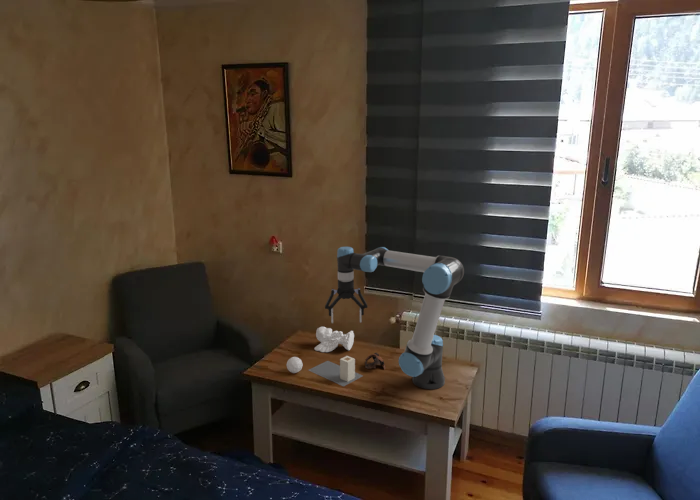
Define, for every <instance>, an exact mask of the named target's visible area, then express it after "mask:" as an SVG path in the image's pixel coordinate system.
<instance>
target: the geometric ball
mask: <svg viewBox="0 0 700 500" xmlns="http://www.w3.org/2000/svg"><path fill="white" fill-rule="evenodd" d="M285 366H286V368H287V371H289V372H290V373H291V374H296V373H298V372H300V371H301V370H302V368H303V361H302V359H301V358H299V357H298V356H292V357H290V358H289V359H288V360H287V362H286V365H285Z"/></svg>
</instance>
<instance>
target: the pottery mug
mask: <svg viewBox="0 0 700 500" xmlns="http://www.w3.org/2000/svg"><path fill="white" fill-rule="evenodd" d="M370 359H373V362H371V363H368V361H369V360H370ZM364 360H365V361H364V364H365V369H376V366H381V367H382V368H383V370H386V365H385V362H384V359H383V358H382V357H381V356H380V355H379V353H378V352H374V353H372V354H369V355H368V356H367V357H366V358H364Z"/></svg>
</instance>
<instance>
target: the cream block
mask: <svg viewBox="0 0 700 500" xmlns="http://www.w3.org/2000/svg"><path fill="white" fill-rule="evenodd" d="M339 366H340V379H342V380H345V381H347V382H349V381H350V380H352V379H354V378H355V372H356V359H355V358H354V357H351V356H349V355H345V356H344V357H341V358H339Z"/></svg>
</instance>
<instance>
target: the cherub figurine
mask: <svg viewBox="0 0 700 500" xmlns="http://www.w3.org/2000/svg"><path fill="white" fill-rule="evenodd" d="M315 336H316V337H315V338H316V339H317V341H319V342H320V343H319V344H318V345H316V346H315V347H314V350H315V351H316V352H321V353H331V352H333V350H335V349H336V348H338V346H339V345H341V346H343V347H344V349H345V350H347V351H350V350H351V349H352V348H353V345H354V342H355V341H354V340H355V339H354V338H355V333H354V330H350V331H349V332H347V333H343V331H341V330H340V331H338V330H334V331H333V329H332V328H331V327H325V326H320V327H317V329H316V333H315Z"/></svg>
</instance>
